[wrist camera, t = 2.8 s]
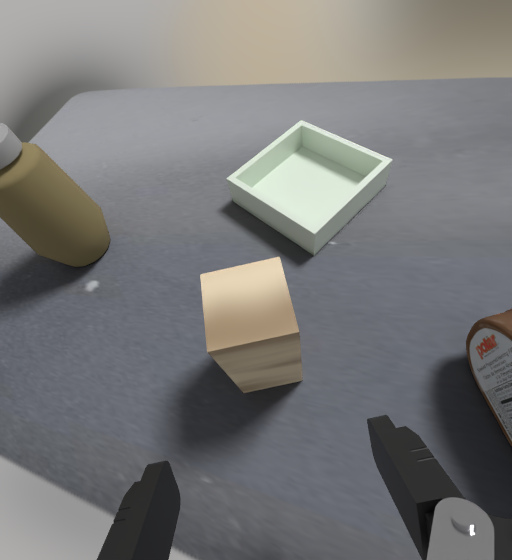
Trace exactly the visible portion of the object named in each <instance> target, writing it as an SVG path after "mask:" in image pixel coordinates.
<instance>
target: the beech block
mask: <svg viewBox="0 0 512 560" xmlns="http://www.w3.org/2000/svg"><path fill="white" fill-rule="evenodd" d="M200 277H201V288H202V299H203V310H204V321H205V332H206V342H207V352H208V353H209V354H210V356H211V357H212V358H213V359H214V360H215V361H216V362H217V363H218V365H219V366H220V367H221V368H222V369H223V370H224V371H225V372H226V374H227V375H228V376H229V377H230V378H231V379H232V380H233V382H234V383H235V384H236V385H237V386H238V387H239V388H240V389H241V391H242V392H243V393H247V392H252V391H256V390H261V389H266V388H270V387H275V386H280V385H285V384H289V383H294V382H299V381H303V377H302V363H301V349H300V335H299V329H298V325H297V321H296V318H295V314H294V310H293V306H292V302H291V298H290V295H289V291H288V287H287V283H286V279H285V276H284V272H283V268H282V264H281V260H280V257H276V258H271V259H267V260H262V261H258V262H254V263H249V264H245V265H240V266H236V267H232V268H227V269H223V270H218V271H214V272H210V273H205V274H201V275H200Z"/></svg>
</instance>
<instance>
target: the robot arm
mask: <svg viewBox="0 0 512 560" xmlns="http://www.w3.org/2000/svg"><path fill="white" fill-rule="evenodd" d="M367 423H368V429H369V435H370V441H371V447H372V452H373V456H374V460H375V462H376V465H377V468H378V470H379V472H380V474H381V476H382V478H383V480H384V482H385V484H386V486H387V488H388V490H389V492H390V495H391V497H392V499H393V501H394V503H395V505H396V507H397V509H398V511H399V513H400V515H401V517H402V519H403V521H404V523H405V525H406V527H407V529H408V531H409V533H410V536H411V538H412V540H413V542H414V544H415V546H416V548H417V550H418V552H419V554H420V556H421V558H422V560H512V519H507V518H500V517H496V516H492V515H489V514H487V513H485V512H484V511H483V510H482V509H481V508H480V507H478V506H477V505H475V504H474V503H472V502H470V501H468V500H466V499H465V498H464V497H463V495H462V494H461V493H460V491H459V490H458V489H457V487H456V486H455V484H454V483H453V482H452V480H451V479H450V478H449V476H448V475H447V474H446V472H445V471H444V469H443V468H442V467H441V465H440V464H439V463H438V461H437V460H436V459H435V458H434V456H433V455H432V453H431V452H430V450H429V449H427V446H426V445H425V444H424V442H423V441H422V440H421V438H420V437H419V435H417V434H416V433H415V432H413V431H412V430H410V429H409V428H407V427H406V426H405V427H400V428H395V426H394V424H393V423H392V421H391V420H390V418H389V417H388V416H387V415H384V416H379V417H374V418H369V419H367ZM179 511H180V493H179V489H178V486H177V483H176V481H175V478H174V475H173V472H172V469H171V466H170V464H169V462H168V461H163V462H158V463H153V464H149V465H147V467H146V468H145V471H144V473H143V476H142V478H141V481H139V482H135V483H134V484H133V485H132V487H131V488H130V489H129V490H128V492H127V493H126V494H125V496H124V498H123V500H122V503H121V505H120V507H119V512H117V514H116V517H115V519H114V524H112V526H111V528H110V530H109V533H108V535H107V537H106V540H105V542H104V544H103V547H102V549H101V552H100V554H99V556H98V558H97V560H168V559H169V554H170V550H171V546H172V541H173V537H174V532H175V528H176V524H177V519H178V515H179Z"/></svg>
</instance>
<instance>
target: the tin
mask: <svg viewBox="0 0 512 560" xmlns="http://www.w3.org/2000/svg"><path fill="white" fill-rule="evenodd" d="M466 350H467V357H468V361H469V365H470V368H471V371H472V374H473V376H474V378H475V381H476V383H477V385H478V387H479V389H480V391H481V392H482V394H483V396H484V398H485V400H486V402H487V403H488V405H489V407H490V409H491V411H492V412H493V414H494V416H495V418H496V420H497V422H498V423H499V425H500V427H501V429H502V431H503V432H504V434H505V436H506V438H507V440H508V441H509V443H510V445H511V447H512V309H510V310H508V311H506V312H504V313H500V314H497V315H493V316H489V317H485V318H483V319H480V320H479V321H477V322H476V323H475V324H474V325H473V326H472V328H471V330H470V332H469V334H468V336H467V340H466Z"/></svg>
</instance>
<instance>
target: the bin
mask: <svg viewBox="0 0 512 560" xmlns="http://www.w3.org/2000/svg"><path fill="white" fill-rule="evenodd" d="M392 161H393V160H392V159H390V158H388V157H385V156H383V155H381V154H378V153H376V152H374V151H371V150H369V149H367V148H364V147H362V146H360V145H357V144H355V143H353V142H351V141H348V140H346V139H344V138H341V137H339V136H337V135H334V134H332V133H330V132H327V131H325V130H323V129H320V128H318V127H316V126H313V125H311V124H309V123H306V122H304V121H302V120H301V121H300V122H298V123H297V124H296V125H294V126H293V127H292V128H291V129H289V130H288V131H287V132H286V133H284V134H283V135H282V136H280V137H279V138H278V139H277V140H275V141H274V142H273V143H271V144H270V145H269V146H268V147H266V148H265V149H264V150H263V151H261V152H260V153H259V154H257V155H256V156H255V157H254V158H252V159H251V160H250V161H248V162H247V163H246V164H245V165H243V166H242V167H241V168H240V169H238V170H237V171H236V172H234V173H233V174H232V175H231V176H229V177H228V178H227V182H228V185H229V189H230V192H231V196H232V199H233V202H235V203H236V204H238V205H239V206H241V207H242V208H244V209H245V210H247V211H248V212H250V213H251V214H253V215H254V216H255V217H257V218H258V219H260V220H261V221H263V222H264V223H266V224H267V225H269V226H270V227H272V228H273V229H275V230H276V231H278V232H279V233H281V234H282V235H284V236H285V237H287V238H288V239H290V240H291V241H293V242H294V243H296V244H297V245H299V246H300V247H302V248H303V249H305V250H306V251H308V252H309V253H311V254H312V255H315V254H316V253H317V252H318V251H319V250H321V249H322V248H323V247H324V246H325V245H326V244H327V243H328V242H329V241H330V240H331V239H332V238H333V237H334V236H335V235H336V234H337V233H338V232H339V231H340V230H341V229H342V228H343V227H344V226H345V225H346V224H347V223H348V222H349V221H350V220H351V219H352V218H353V217H354V216H355V215H356V214H357V213H358V212H359V211H360V210H361V209H362V208H363V207H364V206H365V205H366V204H368V203H369V202H370V201H371V200H372V199H373V198H374V197H375V196H376V195H377V194H378V193H379V192H380V191H381V190H382V189H383V188H384V187H385V186H386V183H387V179H388V176H389V172H390V168H391V165H392Z"/></svg>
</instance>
